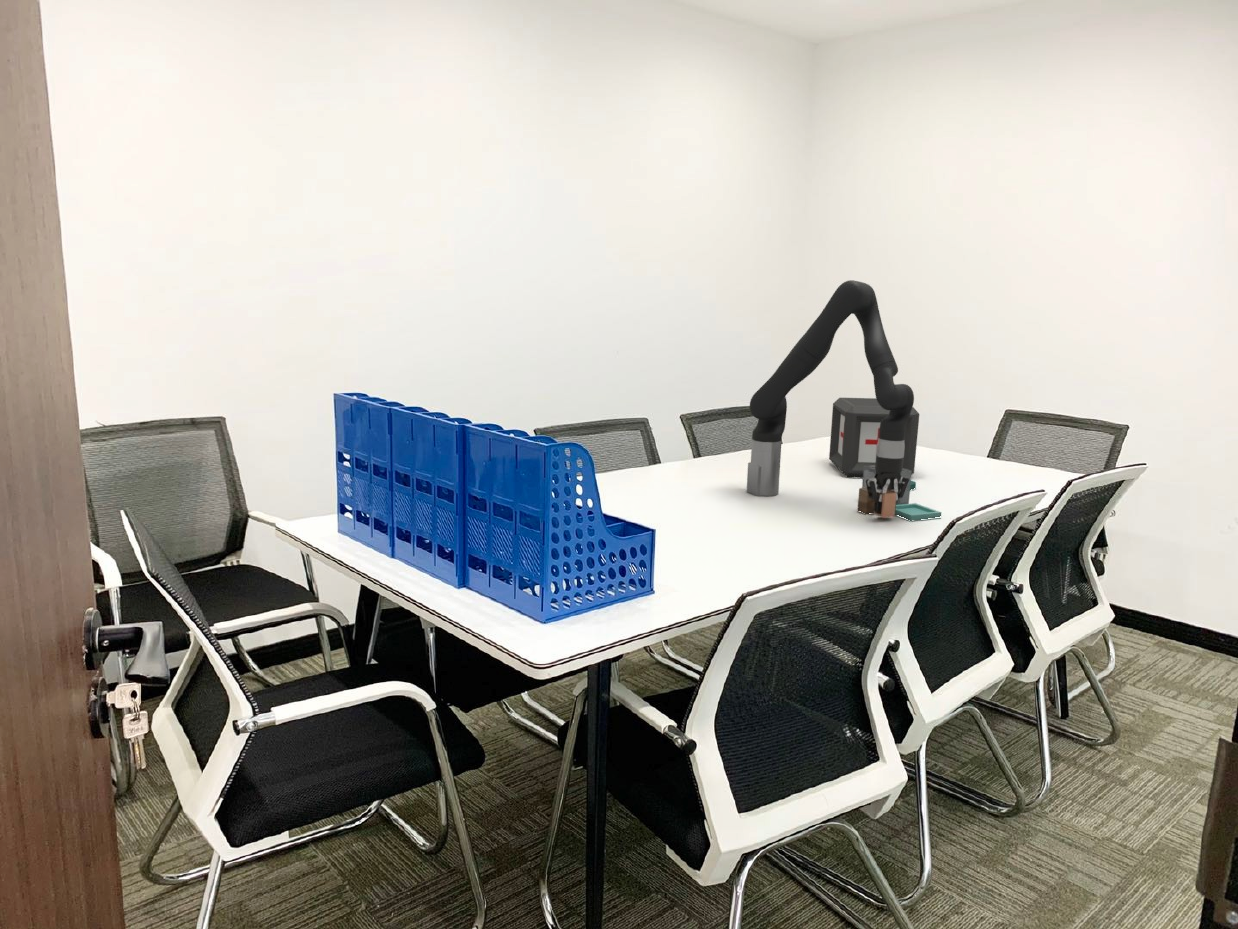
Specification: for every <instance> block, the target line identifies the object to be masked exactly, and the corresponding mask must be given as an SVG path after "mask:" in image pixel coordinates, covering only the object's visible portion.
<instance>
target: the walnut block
mask: <svg viewBox="0 0 1238 929" xmlns="http://www.w3.org/2000/svg"><path fill="white" fill-rule="evenodd" d="M857 499H858V500H857V510H858V511H861V512H863V513H865V514H864V515H866V514H868V515H870V514H869V513H874V502H875V501H874V499H871V498H869V496H868V491H867V488H862V487H861V488H860V487H859V489H858V498H857ZM858 511H857V512H858ZM863 513H862V514H863Z"/></svg>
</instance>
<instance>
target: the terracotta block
mask: <svg viewBox="0 0 1238 929" xmlns="http://www.w3.org/2000/svg"><path fill="white" fill-rule="evenodd" d="M879 495H880V493H879ZM896 495H897V493H894V492H891V491H888V490H887V491H886V494H884V495H883V500H882V501H881V502H882V512H881V514H876V513H875V511H874V514H873V515H876V516H878V517H880V518H882V519H883V518H884V519H885V518H894V517H895V505H896Z"/></svg>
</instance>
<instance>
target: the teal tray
mask: <svg viewBox="0 0 1238 929" xmlns="http://www.w3.org/2000/svg"><path fill="white" fill-rule="evenodd" d="M895 515H899V516H901V517H904V518H906V519H908V520H910V521H912V520H921V519H928V518H935V517H940V516H941V517H942V512H941V511H939V510H936V509H934V508H930V507H928V506H925V505H921V504H919V503H917V502H914V503H909V504H902V505H896V509H895ZM895 515H894V516H895ZM908 520H907V521H908ZM910 521H909V522H910ZM921 521H922V520H921ZM912 522H913V521H912Z"/></svg>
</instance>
